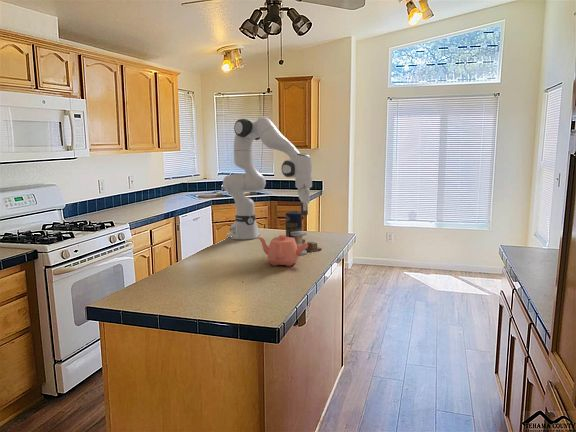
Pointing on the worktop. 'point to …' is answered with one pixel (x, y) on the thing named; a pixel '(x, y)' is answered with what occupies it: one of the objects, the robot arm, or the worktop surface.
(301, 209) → the cylinder
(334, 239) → the worktop surface
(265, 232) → the worktop surface
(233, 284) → the worktop surface
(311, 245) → the board
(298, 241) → the bobbin
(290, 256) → the teapot
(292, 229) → the canister
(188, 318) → the worktop surface
